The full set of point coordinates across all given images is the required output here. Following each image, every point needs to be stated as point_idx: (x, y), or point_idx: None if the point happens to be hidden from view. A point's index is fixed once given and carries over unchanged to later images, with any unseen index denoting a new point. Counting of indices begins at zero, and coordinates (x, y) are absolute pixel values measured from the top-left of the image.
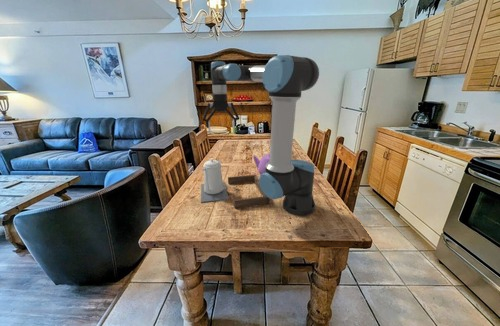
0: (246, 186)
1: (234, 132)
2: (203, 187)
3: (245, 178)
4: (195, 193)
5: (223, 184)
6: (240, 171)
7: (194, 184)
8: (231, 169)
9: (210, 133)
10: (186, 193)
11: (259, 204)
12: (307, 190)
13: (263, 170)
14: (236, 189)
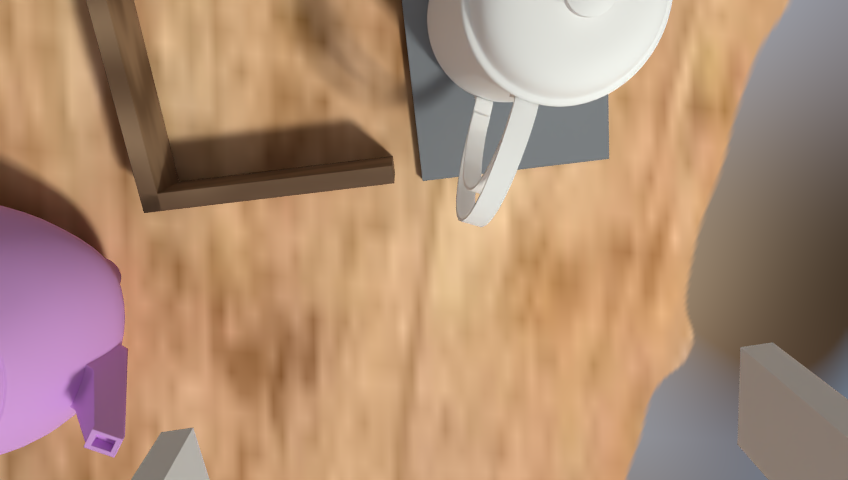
0: (242, 90)
1: (167, 434)
2: None
3: (242, 180)
4: None
5: (431, 133)
6: (298, 397)
7: (659, 177)
8: (373, 443)
9: (749, 354)
10: (715, 13)
11: None
12: None
13: (55, 245)
14: (323, 40)
